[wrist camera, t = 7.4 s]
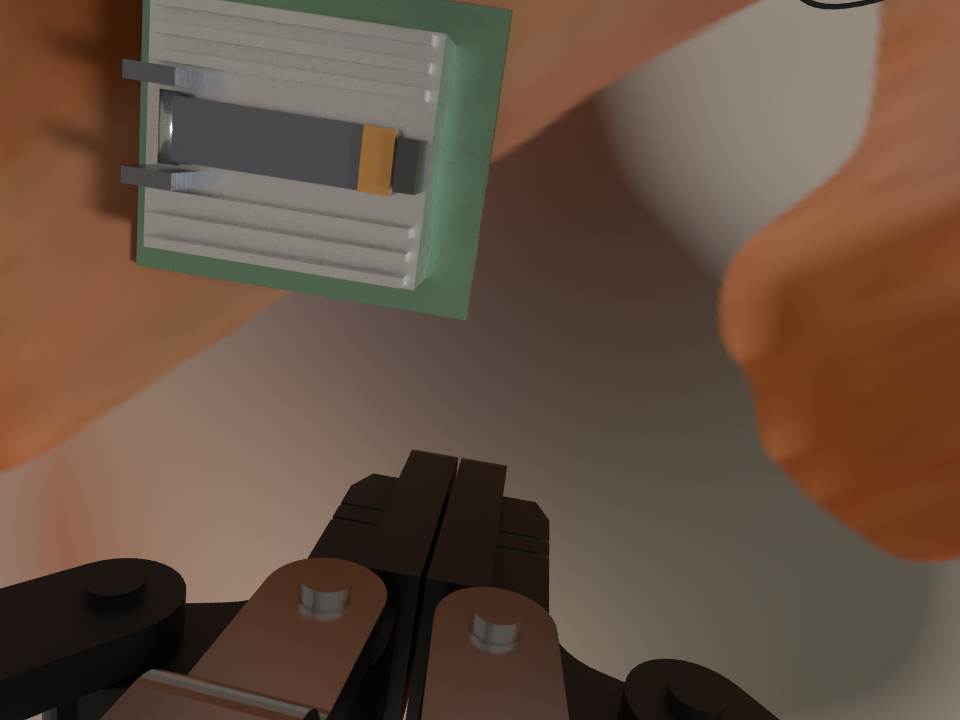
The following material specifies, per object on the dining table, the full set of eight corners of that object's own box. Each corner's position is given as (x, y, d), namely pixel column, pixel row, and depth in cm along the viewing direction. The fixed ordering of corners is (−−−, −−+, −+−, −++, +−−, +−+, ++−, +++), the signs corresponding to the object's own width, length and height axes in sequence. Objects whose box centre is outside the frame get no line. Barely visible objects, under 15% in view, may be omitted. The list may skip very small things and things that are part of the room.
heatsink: (149, -42, 39) (61, -84, 32) (512, 12, 39) (503, -20, 31) (141, 263, 44) (62, 285, 37) (467, 317, 43) (450, 350, 36)
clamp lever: (163, 162, 37) (148, 162, 36) (165, 89, 36) (150, 87, 35) (393, 198, 37) (388, 200, 35) (402, 126, 36) (396, 125, 34)
